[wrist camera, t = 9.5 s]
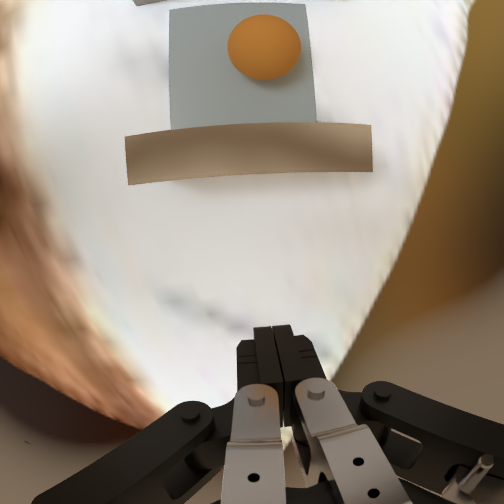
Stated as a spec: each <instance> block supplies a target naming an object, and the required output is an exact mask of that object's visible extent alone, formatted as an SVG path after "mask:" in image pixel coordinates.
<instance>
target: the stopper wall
mask: <svg viewBox="0 0 504 504" xmlns="http://www.w3.org/2000/svg"><path fill="white" fill-rule="evenodd" d="M159 1H165V0H133V2H134V3H135V5H136V6H140V5H144V4H149V3H154V2H159Z"/></svg>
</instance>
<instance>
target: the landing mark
mask: <svg viewBox="0 0 504 504" xmlns="http://www.w3.org/2000/svg"><path fill="white" fill-rule="evenodd" d="M261 14H267V15H273V16H277V17H279V18H282V19H283V20H285V21H287V22H288V23H289V24H290V25H291V26H292V27H293V28H294V29H295V30H296V32H297V34H298V36H299V38H300V42H301V53H300V57H299V60H298V62H297V63H296V65H295V66H294V68H293V69H292V70H291V71H289V72H288V73H287V74H285V75H283V76H281V77H279V78H276V79H272V80H258V79H254V78H251V77H248V76H246V75H244V74H243V73H241V72H240V71H238V70H237V69H236V68H235V66H234V65H233V64H232V62H231V60H230V58H229V55H228V50H227V44H228V39H229V36H230V34H231V32H232V30H233V29H234V27H235V26H236V25H237V24H239V23H240V22H241V21H242V20H244V19H246V18H248V17H251V16H254V15H261ZM169 92H170V120H171V130H175V129H183V128H193V127H203V126H215V125H228V124H246V123H274V122H316V109H315V95H314V82H313V71H312V60H311V50H310V41H309V32H308V24H307V16H306V8H305V4H290V3H230V4H215V5H204V6H194V7H186V8H179V9H172V10H170V15H169Z"/></svg>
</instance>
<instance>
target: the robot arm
mask: <svg viewBox="0 0 504 504" xmlns="http://www.w3.org/2000/svg"><path fill="white" fill-rule="evenodd" d="M253 330H254V340H241V342H240V343H239V345H238V346H237V388H238V389H237V393H236V395H235V397H234V398H233V399H232V400H231V401H230V402H228V403H227V404H225V405H222V406H219V407H215V408H212V409H211V408H210V407H209V406H208V405H207V404H205V403H203V402H199V401H187V402H183V403H180V404H178V405H176V406H175V407H174V408H172V409H171V410H169V411H168V412H167V413H165V414H164V415H163V416H161V417H160V418H158V419H157V420H156V421H154V422H153V423H151V424H150V425H149V426H147V427H146V428H144V429H143V430H142V431H140V432H139V433H137V434H136V435H134V436H133V437H131V438H130V439H129V440H127V441H126V442H124V443H123V444H121V445H120V446H118V447H117V448H115V449H114V450H112V451H111V452H109V453H107V454H106V455H104V456H103V457H101V458H100V459H98V460H97V461H95V462H93V463H92V464H90V465H89V466H87V467H85V468H84V469H82V470H81V471H79V472H77V473H76V474H74V475H72V476H71V477H69V478H67V479H66V480H64V481H62V482H61V483H59V484H57V485H55V486H54V487H52V488H50V489H48V490H47V491H45V492H43V493H41V494H39V495H38V496H37V497H35V498H34V500H33V501H32V503H31V504H184V503H185V502H186V501H187V500H189V499H190V498H191V497H192V496H193V495H194V494H195V493H196V492H197V491H199V490H200V489H201V488H202V487H203V486H204V485H205V484H206V483H208V482H209V481H210V480H211V479H212V478H213V477H214V476H215V475H216V474H217V473H218V472H219V471H220V470H221V469H222V467H223V465H225V466H224V475H223V486H222V495H221V500H218V501H216V502H214V503H211V504H504V425H503V424H500V423H497V422H494V421H491V420H488V419H485V418H482V417H479V416H476V415H473V414H471V413H468V412H465V411H462V410H459V409H457V408H454V407H451V406H448V405H446V404H443V403H440V402H438V401H435V400H432V399H430V398H427V397H425V396H422V395H420V394H417V393H415V392H412V391H410V390H407V389H405V388H402V387H400V386H397V385H395V384H392V383H390V382H386V381H376V382H372V383H370V384H368V385H367V386H365V387H364V389H363V391H362V393H361V392H345V391H341V390H338V389H337V388H336V386H335V385H334V384H333V383H332V382H331V381H329V380H327V379H326V376H325V374H324V371H323V369H322V366H321V364H320V361H319V359H318V357H317V354H316V352H315V350H314V347H313V344H312V342H311V341H310V340H309V339H308V338H307V337H305V336H304V335H298V336H294V335H293V332H292V329H291V326H290V325H279V326H272V328H271V326H268V327H255V328H253ZM283 422H284V427H287V426H292V431H293V441H292V442H293V446H294V449H295V452H296V455H297V458H298V462H299V465H300V468H301V471H302V474H303V477H304V481H305V488H289V487H285V476H284V461H283V445H282V440H281V430H280V427H283ZM391 428H392V429H395V430H397V431H399V432H401V433H403V434H406V435H408V436H410V437H413V438H415V439H417V440H419V441H420V442H421V443H422V444H421V443H418V442H415V441H413V440H411V439H408V438H406V437H404V436H401V435H400V434H397V433H395V432H393V431H391ZM396 475H397V476H399V477H401V478H404V479H406V480H408V481H410V482H413V483H415V484H417V485H419V486H422V487H424V488H426V489H429V490H431V491H434V492H436V493H439V494H441V495H442V497H443V498H442V497H440V496H438V495H435V494H433V493H431V492H429V491H427V490H424V489H422V488H420V487H418V486H416V485H414V484H412V483H410V482H408V481H405V480H403V479H400V478H398V477H397V476H396Z"/></svg>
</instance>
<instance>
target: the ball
mask: <svg viewBox="0 0 504 504" xmlns="http://www.w3.org/2000/svg"><path fill="white" fill-rule="evenodd" d="M227 50H228V55H229V58H230V60H231V62H232V64H233V65H234V66H235V68H236V69H237V70H238V71H240V72H241V73H243V74H244V75H246V76H248V77H251V78H254V79H258V80H272V79H276V78H279V77H281V76H283V75H285V74H287V73H288V72H289V71H291V70H292V69H293V68H294V66H295V65H296V63H297V62H298V60H299V57H300V53H301V42H300V38H299V36H298V34H297V32H296V30H295V29H294V28H293V27H292V26H291V25H290V24H289V23H288V22H287V21H285V20H283V19H282V18H279V17H277V16H273V15H267V14H261V15H254V16H251V17H248V18H246V19H244V20H242V21H241V22H240V23H239V24H237V25H236V26H235V27H234V29H233V30H232V32H231V34H230V36H229V39H228V44H227Z"/></svg>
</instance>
